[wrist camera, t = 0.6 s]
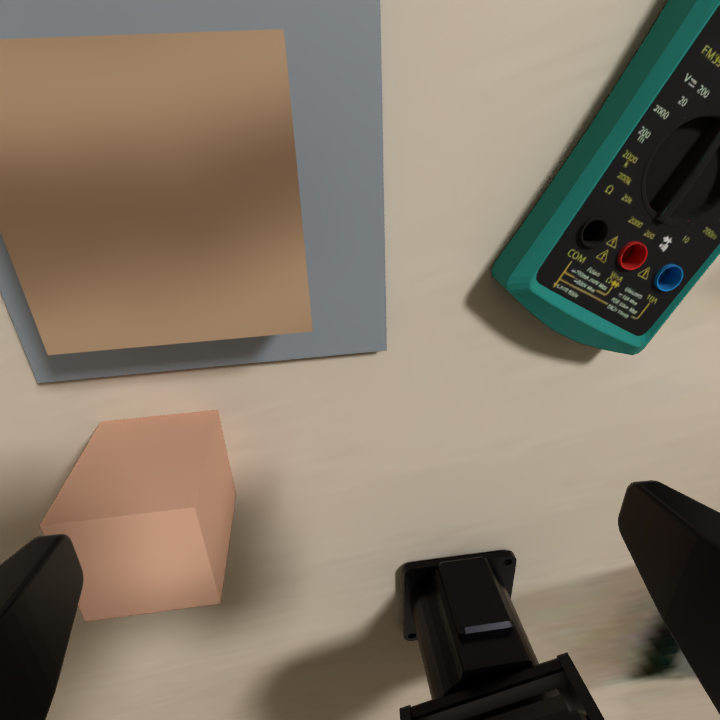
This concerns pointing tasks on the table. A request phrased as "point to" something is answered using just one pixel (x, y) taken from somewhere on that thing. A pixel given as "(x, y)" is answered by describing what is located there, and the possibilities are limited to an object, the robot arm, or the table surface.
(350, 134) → the grey flat square plate
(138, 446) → the terracotta cube
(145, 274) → the walnut base block
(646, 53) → the digital multimeter
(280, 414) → the table surface
